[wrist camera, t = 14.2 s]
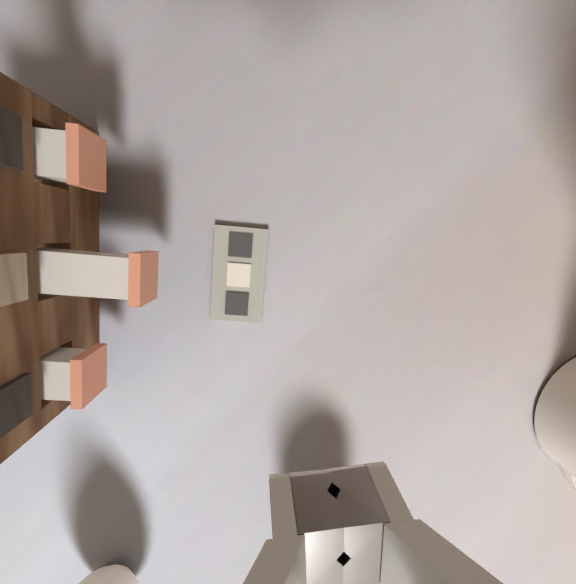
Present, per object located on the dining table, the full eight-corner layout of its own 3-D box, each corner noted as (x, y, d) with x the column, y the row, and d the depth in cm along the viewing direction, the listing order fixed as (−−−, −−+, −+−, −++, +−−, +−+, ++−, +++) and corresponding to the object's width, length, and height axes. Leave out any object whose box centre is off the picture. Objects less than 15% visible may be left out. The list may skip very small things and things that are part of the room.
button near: (106, 140, 25) (78, 123, 21) (106, 192, 26) (79, 184, 22) (-18, 127, 24) (-69, 107, 21) (-15, 181, 25) (-65, 171, 21)
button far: (106, 343, 28) (81, 360, 24) (106, 386, 28) (82, 409, 24) (-6, 336, 27) (-50, 352, 23) (-4, 380, 28) (-46, 403, 24)
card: (268, 229, 31) (268, 229, 31) (261, 321, 33) (261, 323, 32) (215, 224, 31) (214, 224, 31) (210, 318, 32) (209, 319, 32)
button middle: (158, 251, 27) (140, 253, 23) (157, 297, 27) (139, 307, 24) (43, 241, 26) (5, 242, 22) (44, 289, 27) (8, 298, 23)
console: (103, 133, 29) (-43, 41, 15) (103, 379, 33) (-15, 483, 19) (26, 125, 29) (-196, 21, 15) (35, 376, 32) (-137, 479, 19)
